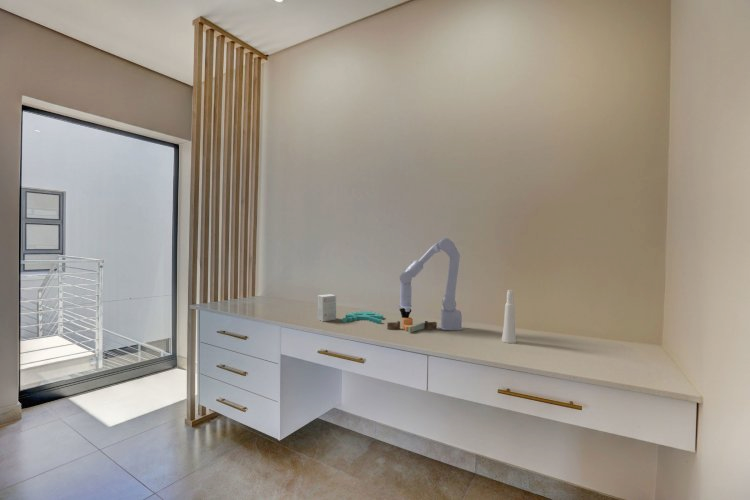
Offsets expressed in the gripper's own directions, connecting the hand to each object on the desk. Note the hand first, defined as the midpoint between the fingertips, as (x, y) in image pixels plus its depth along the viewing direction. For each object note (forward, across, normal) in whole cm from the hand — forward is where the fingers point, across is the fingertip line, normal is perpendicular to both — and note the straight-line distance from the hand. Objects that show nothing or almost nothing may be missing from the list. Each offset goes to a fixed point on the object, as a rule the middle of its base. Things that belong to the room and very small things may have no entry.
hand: (405, 323), depth 174 cm
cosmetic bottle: (+2, +27, +41) cm, 49 cm away
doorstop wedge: (+1, +5, +1) cm, 5 cm away
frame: (+1, +5, +3) cm, 6 cm away
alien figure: (+2, -17, -20) cm, 26 cm away
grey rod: (+1, +9, +5) cm, 10 cm away
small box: (+2, -15, -40) cm, 42 cm away
